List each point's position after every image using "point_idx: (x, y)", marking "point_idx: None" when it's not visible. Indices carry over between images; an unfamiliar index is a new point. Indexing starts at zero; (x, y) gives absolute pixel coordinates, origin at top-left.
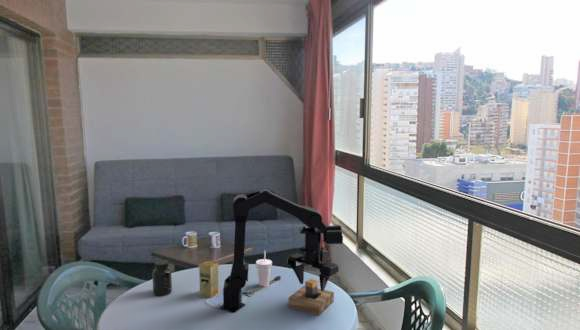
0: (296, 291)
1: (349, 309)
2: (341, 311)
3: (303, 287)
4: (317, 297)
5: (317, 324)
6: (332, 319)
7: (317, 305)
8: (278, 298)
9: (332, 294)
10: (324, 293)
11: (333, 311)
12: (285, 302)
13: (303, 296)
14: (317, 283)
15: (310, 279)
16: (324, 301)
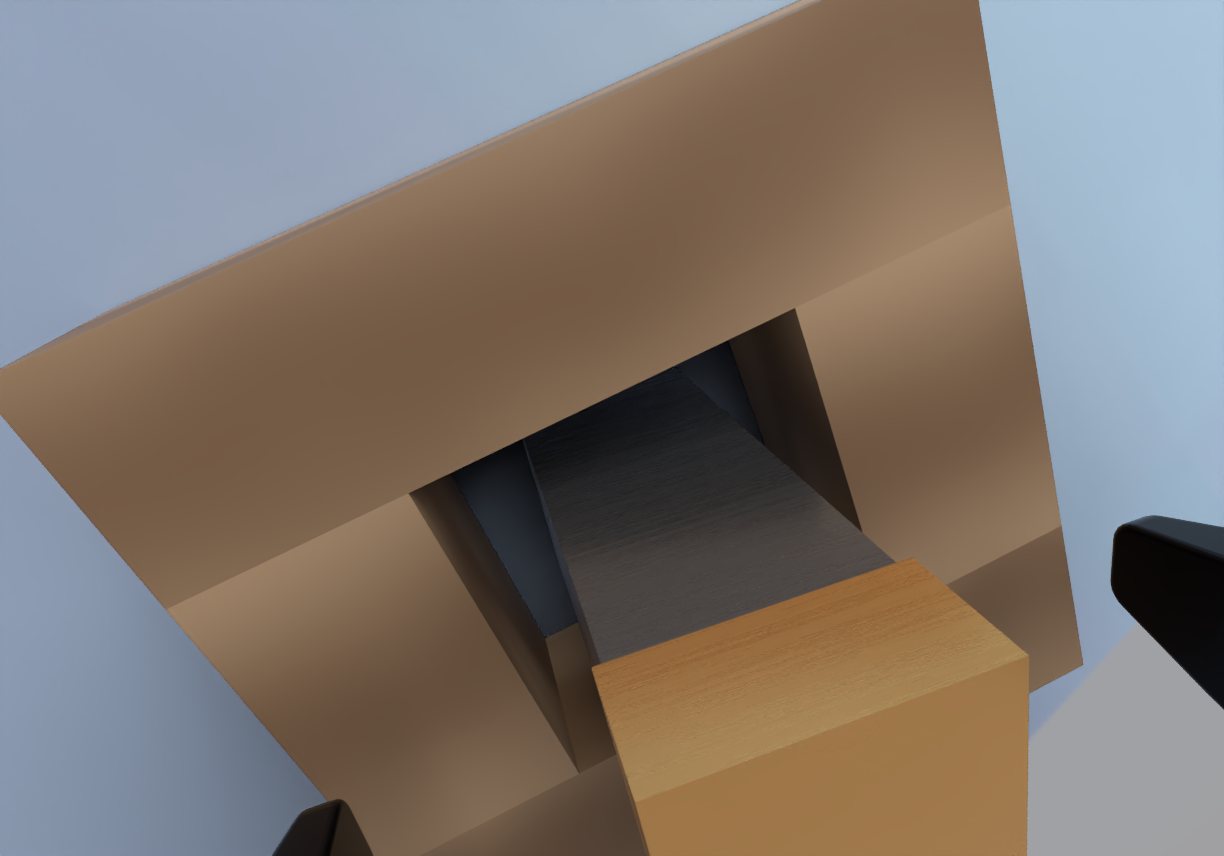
0: (305, 771)
1: (1213, 4)
2: (1138, 194)
3: (147, 506)
4: (864, 527)
5: (1067, 698)
6: (1145, 480)
7: (1036, 674)
8: (51, 845)
9: (966, 49)
10: (837, 244)
11: (1042, 310)
12: (287, 799)
13: (524, 657)
14: (959, 619)
15: (685, 838)
16: (1045, 485)
